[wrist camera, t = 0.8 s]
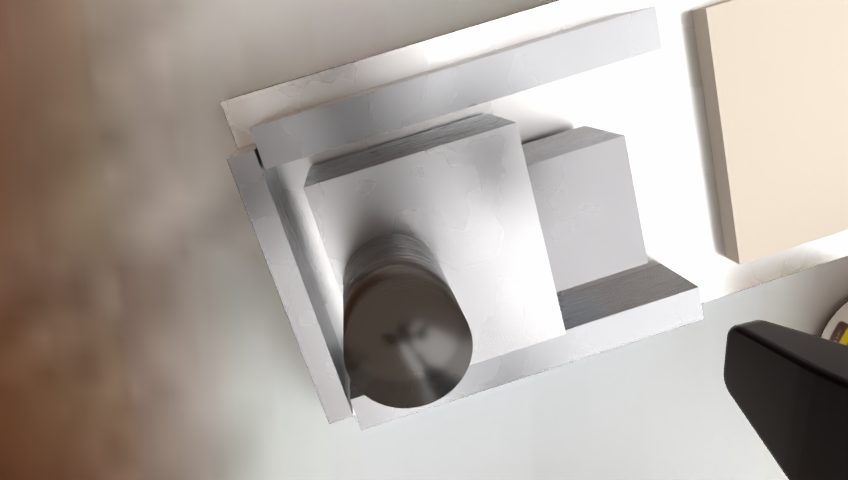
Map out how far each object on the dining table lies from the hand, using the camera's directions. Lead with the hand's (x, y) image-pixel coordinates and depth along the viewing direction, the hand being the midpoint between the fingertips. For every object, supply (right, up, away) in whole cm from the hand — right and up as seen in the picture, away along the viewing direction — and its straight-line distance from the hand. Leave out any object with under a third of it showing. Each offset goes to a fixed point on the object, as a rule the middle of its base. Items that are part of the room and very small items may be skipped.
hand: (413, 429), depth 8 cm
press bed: (+14, +7, +14) cm, 21 cm away
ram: (+2, +3, +13) cm, 13 cm away
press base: (+8, +6, +15) cm, 17 cm away
